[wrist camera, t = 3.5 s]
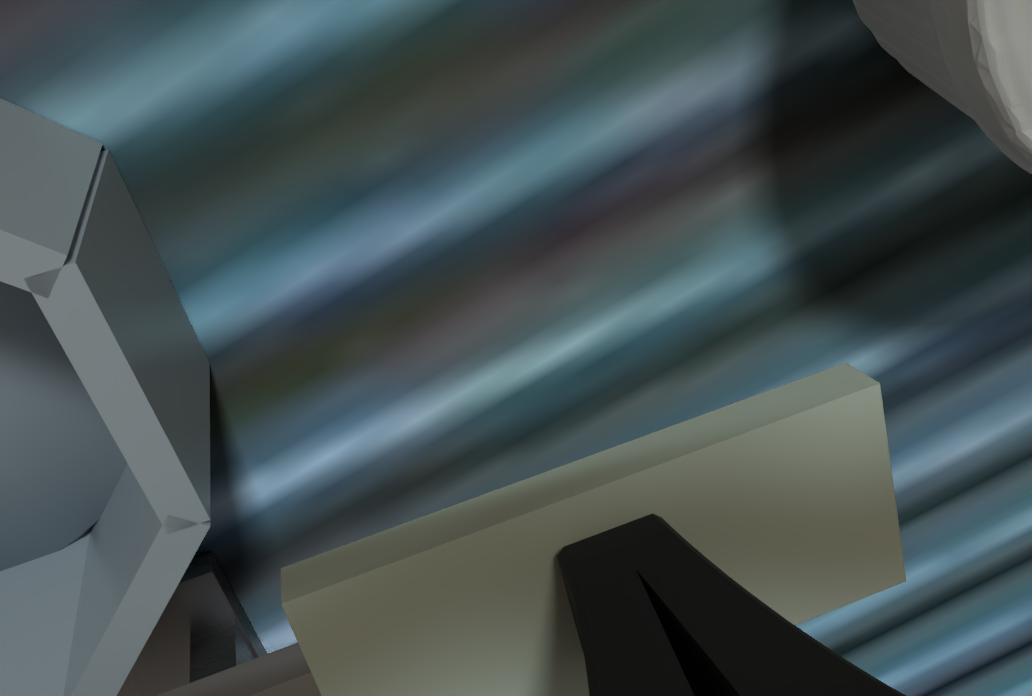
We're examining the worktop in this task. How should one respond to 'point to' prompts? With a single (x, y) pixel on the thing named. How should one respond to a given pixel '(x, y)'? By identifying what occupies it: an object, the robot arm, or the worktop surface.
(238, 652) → the fulcrum
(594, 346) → the worktop surface
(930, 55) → the ramekin
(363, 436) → the worktop surface
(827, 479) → the lever
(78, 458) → the bowl
